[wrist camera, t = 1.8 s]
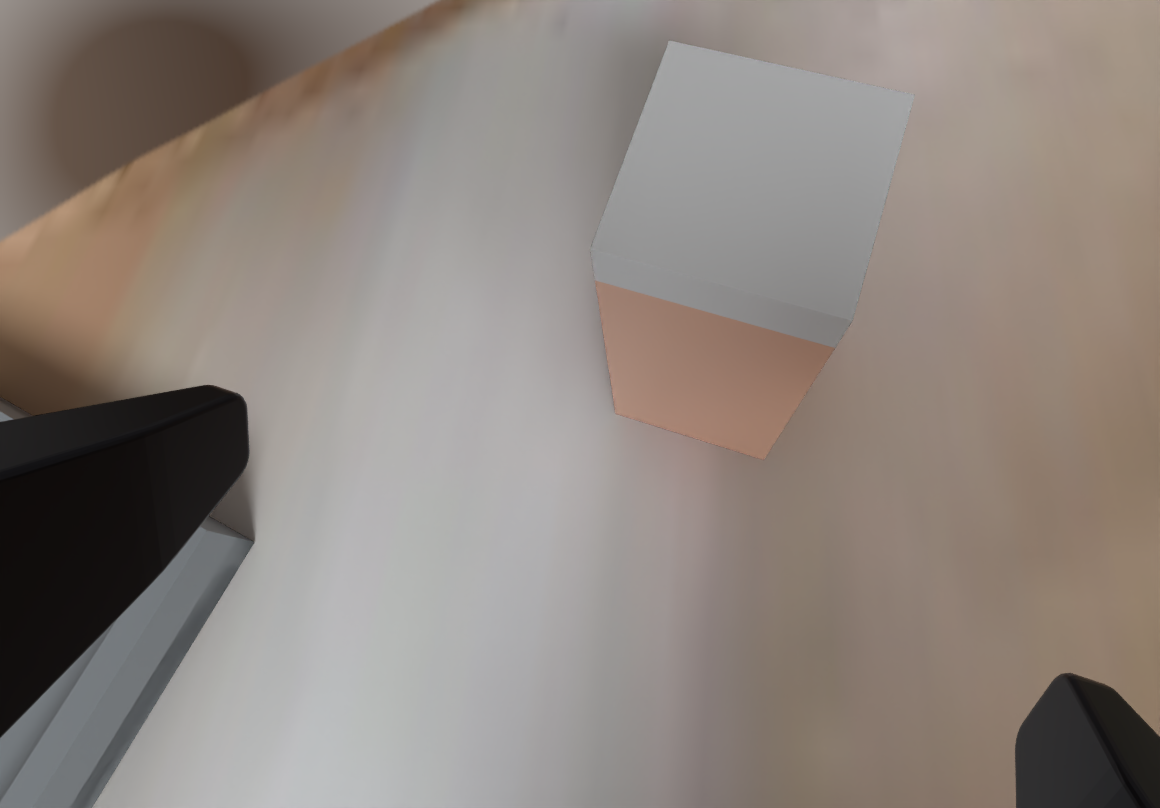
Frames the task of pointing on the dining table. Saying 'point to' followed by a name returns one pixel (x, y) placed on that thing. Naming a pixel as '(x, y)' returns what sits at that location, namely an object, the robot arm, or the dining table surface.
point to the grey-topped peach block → (739, 240)
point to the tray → (114, 677)
